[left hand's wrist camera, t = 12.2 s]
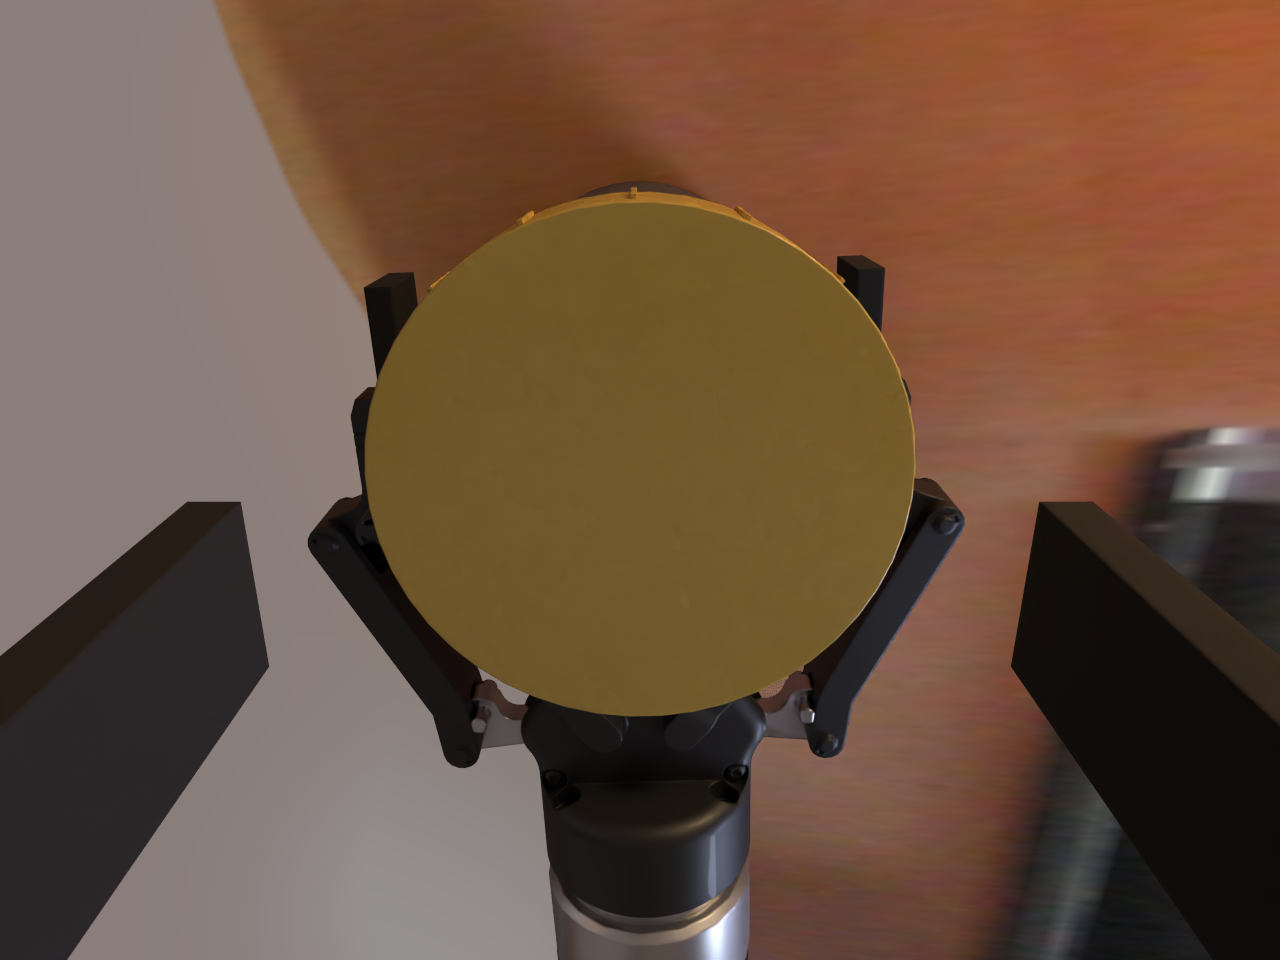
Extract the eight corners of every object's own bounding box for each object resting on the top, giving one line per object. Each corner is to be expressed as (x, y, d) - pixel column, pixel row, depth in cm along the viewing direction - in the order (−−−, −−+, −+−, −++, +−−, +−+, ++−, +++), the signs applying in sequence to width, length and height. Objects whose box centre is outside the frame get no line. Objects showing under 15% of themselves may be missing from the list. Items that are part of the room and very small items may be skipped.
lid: (705, 725, 22) (713, 793, 19) (314, 514, 20) (272, 562, 17) (985, 373, 19) (1032, 406, 16) (554, 79, 17) (540, 72, 14)
